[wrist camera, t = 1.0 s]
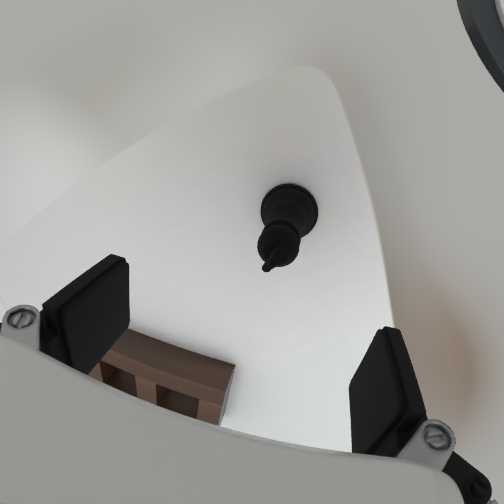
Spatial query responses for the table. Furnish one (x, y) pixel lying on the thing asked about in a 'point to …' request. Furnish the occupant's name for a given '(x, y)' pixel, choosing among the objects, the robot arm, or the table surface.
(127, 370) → the socket base
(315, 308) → the table surface
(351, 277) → the table surface
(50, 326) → the robot arm
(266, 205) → the chess piece
